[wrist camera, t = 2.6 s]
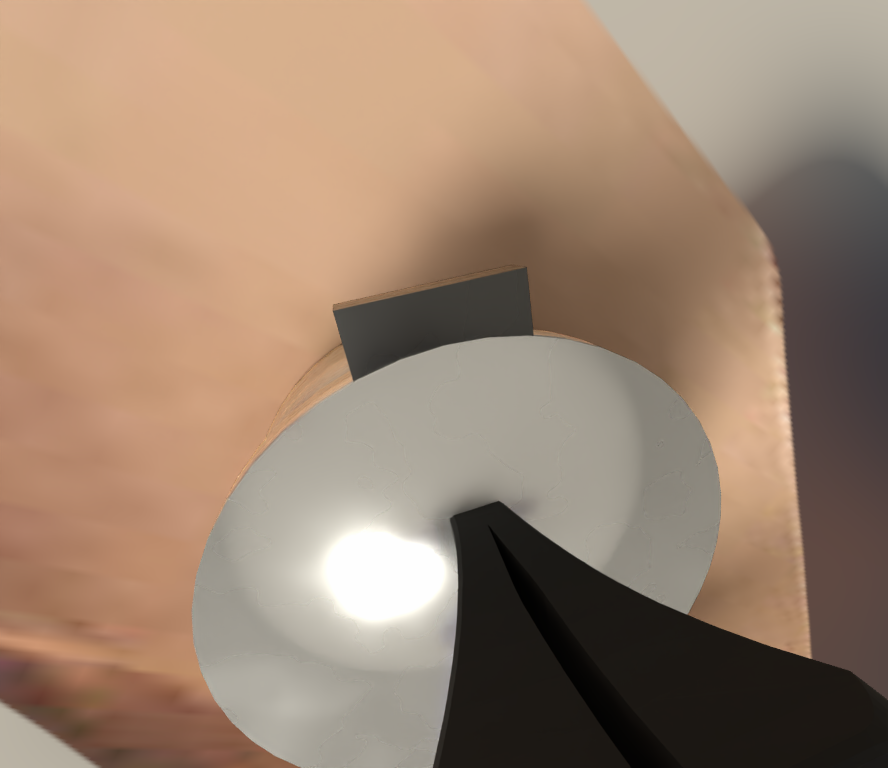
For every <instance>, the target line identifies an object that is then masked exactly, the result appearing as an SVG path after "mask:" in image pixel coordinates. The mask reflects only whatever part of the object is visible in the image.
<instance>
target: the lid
mask: <svg viewBox="0 0 888 768" xmlns="http://www.w3.org/2000/svg"><path fill="white" fill-rule="evenodd" d="M333 313H334V316H335V320H336V323H337V327H338V330H339V334H340V337H341V341H342V344H343V348H344V351H345V355H346V358H347V362H348V365H349V369H350V371H348V372H347V373H345V374H343V375H342V376H340V377H338V378H337V379H335V380H334V381H332V382H330V383H329V384H327V385H326V386H324V387H322V388H321V389H319V390H318V391H317V392H316V393H315V394H313V395H312V396H311V397H310V398H308V399H307V400H306V401H305V402H304V403H302V404H301V405H300V406H299V407H297V408H296V409H295V410H294V411H293V412H291V413H290V414H289V415H288V416H287V417H286V418H285V419H284V420H283V421H282V422H281V423H280V424H279V425H278V426H277V427H276V428H275V429H274V430H273V432H272V433H271V434H270V435H269V436H268V437H267V438H266V439H265V440H264V441H263V442H262V443H261V444H260V445H259V447H258V448H257V450H256V451H255V452H254V454H253V455H252V457H251V458H250V460H249V461H248V462H247V464H246V465H245V467H244V468H243V470H242V471H241V472H240V474H239V475H238V477H237V478H236V480H235V482H234V484H233V486H232V488H231V490H230V492H229V494H228V496H227V498H226V500H225V502H224V504H223V506H222V508H221V510H220V512H219V514H218V517H217V519H216V521H215V524H214V526H213V528H212V531H211V533H210V535H209V538H208V540H207V543H206V546H205V549H204V553H203V556H202V559H201V562H200V565H199V569H198V572H197V575H196V581H195V589H194V597H193V605H192V624H193V640H194V646H195V650H196V654H197V658H198V662H199V665H200V669H201V673H202V675H203V677H204V679H205V681H206V683H207V685H208V687H209V689H210V691H211V693H212V695H213V698H214V699H215V701H216V702H217V703H218V705H219V706H220V707H221V709H222V710H223V711H224V713H225V714H226V715H227V717H228V718H229V719H230V721H231V722H232V723H233V724H234V725H235V726H236V727H238V728H239V729H240V730H241V731H242V732H243V733H244V734H245V735H246V736H247V737H249V738H250V739H251V740H252V741H253V742H255V743H256V744H258V745H259V746H261V747H262V748H264V749H265V750H267V751H269V752H270V753H272V754H273V755H275V756H277V757H279V758H281V759H283V760H285V761H288V762H290V763H292V764H294V765H296V766H299V767H301V768H433V764H434V760H435V755H436V750H437V746H438V741H439V736H440V732H441V727H442V722H443V717H444V712H445V706H446V701H447V695H448V688H449V682H450V675H451V668H452V661H453V653H454V644H455V634H456V622H457V600H458V568H457V551H456V547H455V542H454V538H453V533H452V529H451V524H450V519H451V518H452V516H453V515H456V514H459V513H463V512H466V511H469V510H472V509H475V508H478V507H481V506H484V505H487V504H491V503H494V502H497V501H500V502H502V503H504V504H505V505H506V506H507V507H508V508H510V509H511V510H512V511H513V512H514V513H516V514H517V515H518V516H519V517H521V518H522V519H523V520H525V521H526V522H527V523H528V524H530V525H531V526H532V527H534V528H535V529H536V530H538V531H539V532H540V533H542V534H543V535H545V536H546V537H547V538H549V539H550V540H552V541H553V542H555V543H556V544H557V545H559V546H560V547H562V548H563V549H565V550H566V551H568V552H569V553H571V554H572V555H574V556H575V557H577V558H578V559H580V560H582V561H583V562H585V563H587V564H588V565H590V566H591V567H593V568H595V569H596V570H598V571H600V572H601V573H603V574H605V575H607V576H608V577H610V578H612V579H614V580H616V581H617V582H619V583H621V584H623V585H625V586H627V587H629V588H631V589H633V590H634V591H636V592H638V593H640V594H642V595H644V596H646V597H648V598H651V599H653V600H655V601H657V602H659V603H661V604H663V605H666V606H668V607H670V608H673V609H675V610H677V611H680V612H682V613H684V614H687V615H688V613H689V611H690V609H691V607H692V605H693V603H694V602H695V600H696V598H697V596H698V594H699V592H700V590H701V587H702V585H703V583H704V580H705V578H706V575H707V573H708V570H709V568H710V565H711V561H712V557H713V554H714V550H715V547H716V543H717V537H718V531H719V524H720V516H721V490H720V482H719V474H718V467H717V464H716V461H715V457H714V454H713V451H712V447H711V444H710V442H709V440H708V438H707V436H706V434H705V432H704V430H703V428H702V426H701V424H700V422H699V420H698V419H697V417H696V416H695V414H694V413H693V412H692V410H691V409H690V408H689V406H688V405H687V404H686V402H685V401H684V400H683V398H682V397H680V396H679V395H678V394H677V393H676V392H675V391H674V390H673V389H672V388H671V387H670V386H669V385H668V384H667V383H665V382H664V381H663V380H662V379H661V378H660V377H658V376H656V375H655V374H653V373H652V372H650V371H649V370H647V369H646V368H644V367H642V366H641V365H639V364H638V363H636V362H634V361H632V360H630V359H627V358H625V357H623V356H620V355H618V354H616V353H613V352H611V351H609V350H606V349H604V348H601V347H599V346H597V345H594V344H592V343H589V342H587V341H585V340H582V339H579V338H575V337H571V336H567V335H563V334H559V333H555V332H551V331H544V330H534V329H533V324H532V314H531V304H530V295H529V285H528V275H527V267H523V266H516V265H509V266H504V267H500V268H495V269H491V270H486V271H482V272H477V273H473V274H468V275H464V276H459V277H455V278H450V279H446V280H441V281H437V282H432V283H428V284H423V285H419V286H414V287H410V288H405V289H401V290H396V291H392V292H387V293H383V294H378V295H374V296H370V297H365V298H361V299H356V300H352V301H347V302H343V303H338V304H334V305H333Z"/></svg>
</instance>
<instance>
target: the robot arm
mask: <svg viewBox="0 0 888 768" xmlns="http://www.w3.org/2000/svg"><path fill="white" fill-rule="evenodd" d="M450 524H451V529H452V533H453V538H454V542H455V547H456V551H457V568H458V600H457V622H456V634H455V644H454V653H453V661H452V668H451V675H450V682H449V688H448V695H447V701H446V706H445V712H444V717H443V722H442V727H441V732H440V736H439V741H438V746H437V750H436V755H435V760H434V764H433V768H888V700H887V699H886V698H885V697H883V696H882V695H881V694H879V693H878V692H877V691H876V690H874V689H873V688H872V687H870V686H869V685H867V684H866V683H865V682H864V681H862V680H861V679H860V678H858V677H857V676H856V675H854V674H853V673H852V672H851V671H848V670H845V669H842V668H838V667H835V666H832V665H829V664H825V663H822V662H819V661H816V660H812V659H809V658H806V657H803V656H799V655H796V654H793V653H790V652H786V651H783V650H780V649H777V648H773V647H770V646H767V645H765V644H762V643H759V642H756V641H753V640H751V639H748V638H745V637H742V636H740V635H737V634H734V633H731V632H729V631H726V630H723V629H720V628H718V627H715V626H713V625H710V624H708V623H705V622H703V621H701V620H698V619H696V618H694V617H691V616H689V615H687V614H684V613H682V612H680V611H677V610H675V609H673V608H670V607H668V606H666V605H663V604H661V603H659V602H657V601H655V600H653V599H651V598H648V597H646V596H644V595H642V594H640V593H638V592H636V591H634V590H633V589H631V588H629V587H627V586H625V585H623V584H621V583H619V582H617V581H616V580H614V579H612V578H610V577H608V576H607V575H605V574H603V573H601V572H600V571H598V570H596V569H595V568H593V567H591V566H590V565H588V564H587V563H585V562H583V561H582V560H580V559H578V558H577V557H575V556H574V555H572V554H571V553H569V552H568V551H566V550H565V549H563V548H562V547H560V546H559V545H557V544H556V543H555V542H553V541H552V540H550V539H549V538H547V537H546V536H545V535H543V534H542V533H540V532H539V531H538V530H536V529H535V528H534V527H532V526H531V525H530V524H528V523H527V522H526V521H525V520H523V519H522V518H521V517H519V516H518V515H517V514H516V513H514V512H513V511H512V510H511V509H510V508H508V507H507V506H506V505H505V504H504V503H502V502H500V501H497V502H494V503H491V504H487V505H484V506H481V507H478V508H475V509H472V510H469V511H466V512H463V513H459V514H456V515H453V516H452V518H451V519H450Z"/></svg>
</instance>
